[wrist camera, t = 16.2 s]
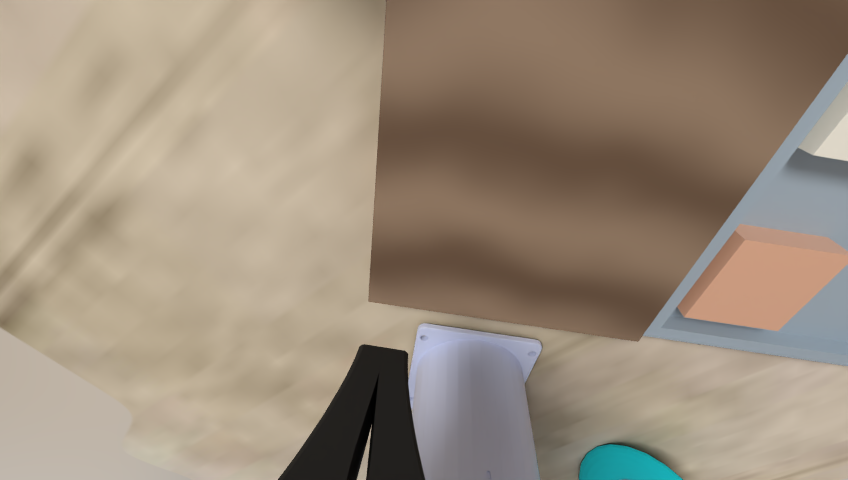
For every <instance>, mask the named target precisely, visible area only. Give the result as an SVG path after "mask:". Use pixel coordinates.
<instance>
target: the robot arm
mask: <svg viewBox="0 0 848 480" xmlns="http://www.w3.org/2000/svg"><path fill="white" fill-rule="evenodd" d="M423 335H425V336H423ZM541 350H542V345H541V342H540V341H539V340H535V339H529V338H522V337H515V336H508V335H502V334H495V333H488V332H481V331H475V330H468V329H461V328H454V327H447V326H441V325H434V324H427V323H423V324H420V325H419V326H418V330H417V335H416V341H415V346H414V352H413V357H412V363H411V368H410V374H409V379H408V353H407V352H406V351H402V350H396V349H390V348H384V347H377V346H371V345H365V344H363V345H361V346H360V347H359V349H358V352H357V355H356V357H355V359H354V361H353V364H352V366H351V368H350V370H349V372H348V374H347V376H346V377H345V379H344V381H343V383H342V385H341V387H340V388H339V390H338V392H337V393H336V395H335V397H334V398H333V400H332V402H331V403H330V405H329V407H328V408H327V410H326V412H325V413H324V415H323V417H322V418H321V420H320V421H319V423H318V424H317V426H316V427H315V429H314V430H313V432H312V433H311V434H310V436H309V437H308V439H307V440H306V442H305V443H304V445H303V446H302V448H301V449H300V451H299V452H298V453H297V455H296V456H295V457H294V459H293V460H292V462H291V463H290V464H289V466H288V467H287V468H286V470H285V471H284V472H283V474H282V475H281V476H280V477H279V479H278V480H357V476H358V472H359V469H360V465H361V461H362V458H363V454H364V451H365V447H366V443H367V440H368V436H369V432H370V429H371V425H372V429H371V438H370V448H369V458H368V468H367V477H366V480H540V475H539V469H538V463H537V457H536V451H535V445H534V439H533V433H532V427H531V421H530V415H529V409H528V402H527V396H526V390H525V382H526V380H527V378H528V376H529V374H530V372H531V370H532V368H533V366H534V364H535V362H536V360H537V358H538V356H539V354H540V352H541ZM411 409H413V410H412V411H411Z"/></svg>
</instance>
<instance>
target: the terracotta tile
mask: <svg viewBox="0 0 848 480" xmlns="http://www.w3.org/2000/svg"><path fill="white" fill-rule="evenodd" d="M847 264H848V251H847V250H846V249H844V248H843V247H841V246H840V245H838V244H837V243H835V242H834V241H833V240H831V239H830V238H828V237H823V236H817V235H810V234H803V233H797V232H790V231H784V230H777V229H771V228H764V227H757V226H751V225H744V224H739V226H738V227H737V228H736V230H735V231H734V232H733V233H732V235H731V236H730V237H729V239H728V240H727V241H726V243H725V244H724V245H723V247H722V248H721V249H720V251H719V252H718V253H717V255H716V256H715V257H714V259H713V260H712V261H711V262H710V264H709V265H708V266H707V268H706V269H705V270H704V272H703V273H702V274H701V276H700V277H699V278H698V280H697V281H696V282H695V284H694V285H693V286H692V288H691V289H690V290H689V292H688V293H687V294H686V295H685V297H684V298H683V299H682V301H681V302H680V303H679V305H678V306H677V307H678V309H679V310H680V312H681V313H682V315H683V316H684V317H686V318H693V319H699V320H706V321H713V322H720V323H726V324H733V325H740V326H747V327H754V328H760V329H767V330H774V331H779V330H780V329H781V328H782V327H783V326H784V325H785V324H786V323H787V322H788V321H789V320H790V319H791V318H792V317H793V316H794V315H795V314H796V313H797V312H798V311H799V310H800V309H802V308H803V307H804V306H805V305H806V304H807V303H808V302H809V301H810V300H811V299H812V298H813V297H814V296H815V295H816V294H817V293H818V292H819V291H820V290H821V289H822V288H823V287H824V286H825V285H826V284H828V283H829V282H830V281H831V280H832V279H833V278H834V277H835V276H836V275H837V274H838V273H839V272H840V271H841V270H842V269H843V268H844V267H845V266H846V265H847Z"/></svg>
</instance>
